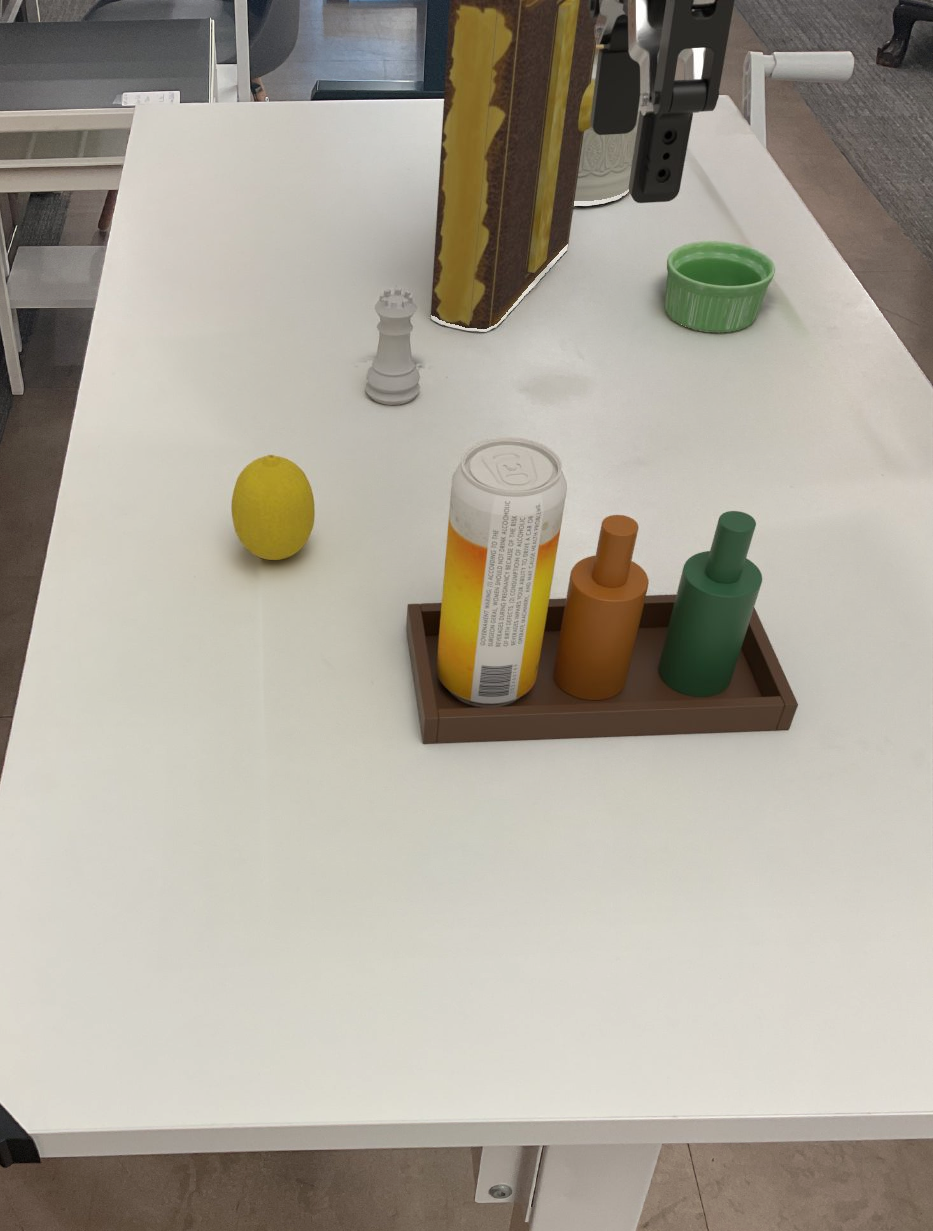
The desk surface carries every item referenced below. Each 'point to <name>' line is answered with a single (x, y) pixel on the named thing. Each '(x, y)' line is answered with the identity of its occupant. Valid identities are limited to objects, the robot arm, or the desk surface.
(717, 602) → the green bottle
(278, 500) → the lemon
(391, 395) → the rook chess piece
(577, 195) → the jar
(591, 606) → the amber bottle
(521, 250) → the book
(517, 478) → the beer can
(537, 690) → the tray
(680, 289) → the ramekin
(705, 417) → the desk surface
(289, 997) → the desk surface
